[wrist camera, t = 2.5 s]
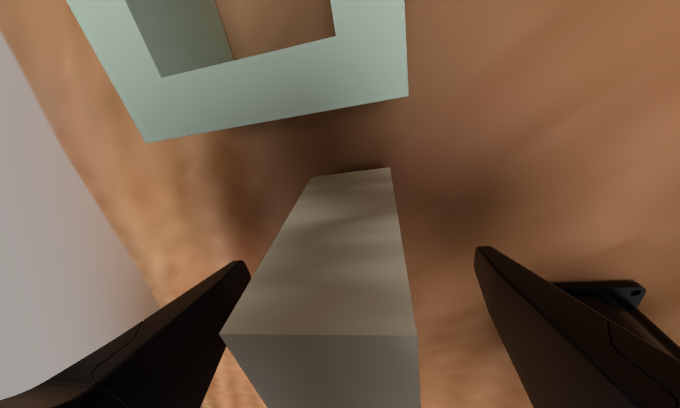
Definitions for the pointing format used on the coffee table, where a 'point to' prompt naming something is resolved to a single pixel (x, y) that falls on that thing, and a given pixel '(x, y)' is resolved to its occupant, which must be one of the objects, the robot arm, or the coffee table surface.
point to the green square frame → (239, 64)
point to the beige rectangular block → (332, 303)
